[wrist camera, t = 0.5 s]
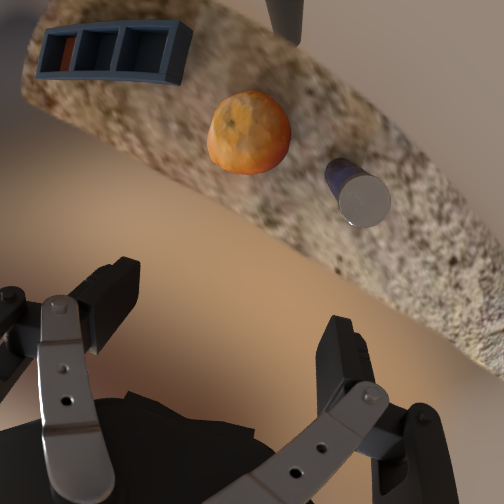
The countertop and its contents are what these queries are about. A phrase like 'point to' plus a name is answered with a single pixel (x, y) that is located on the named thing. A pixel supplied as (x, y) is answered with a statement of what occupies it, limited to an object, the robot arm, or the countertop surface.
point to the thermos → (357, 193)
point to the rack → (116, 51)
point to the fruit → (248, 133)
